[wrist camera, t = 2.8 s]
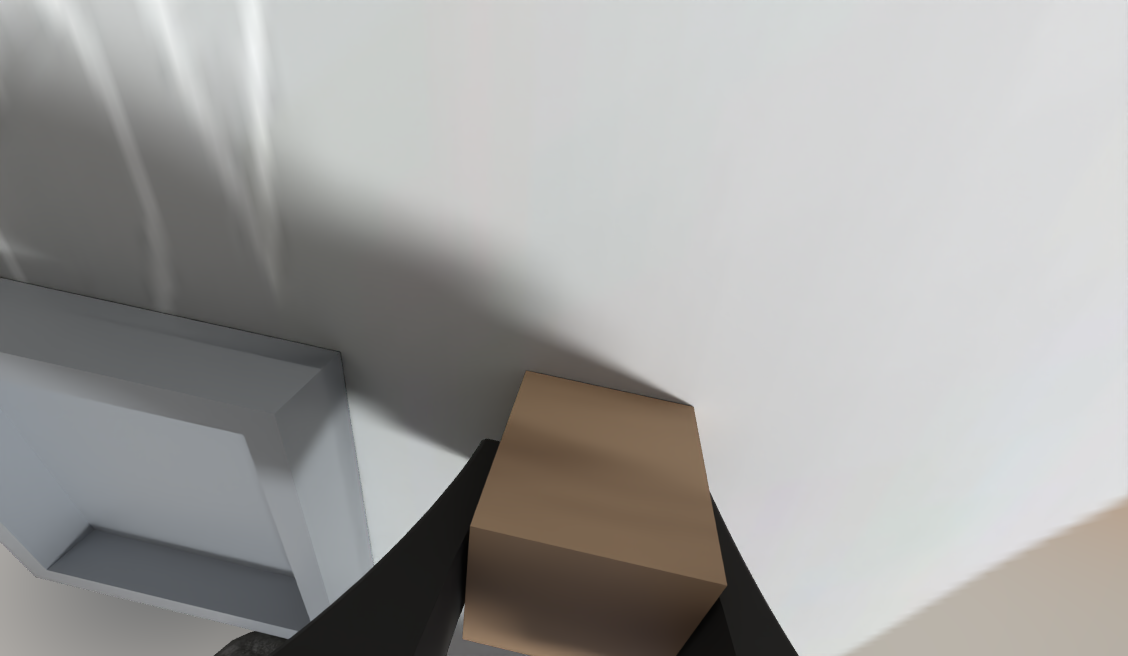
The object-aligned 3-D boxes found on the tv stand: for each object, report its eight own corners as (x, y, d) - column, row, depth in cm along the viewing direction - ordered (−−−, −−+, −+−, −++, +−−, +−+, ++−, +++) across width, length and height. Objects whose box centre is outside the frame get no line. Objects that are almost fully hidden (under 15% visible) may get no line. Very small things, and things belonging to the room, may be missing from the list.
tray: (377, 586, 18) (343, 652, 16) (102, 521, 19) (35, 577, 17) (339, 352, 12) (274, 413, 9) (-91, 257, 12) (-247, 296, 10)
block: (647, 510, 13) (654, 685, 9) (510, 478, 13) (462, 639, 10) (693, 407, 11) (727, 585, 7) (526, 370, 11) (470, 525, 7)
